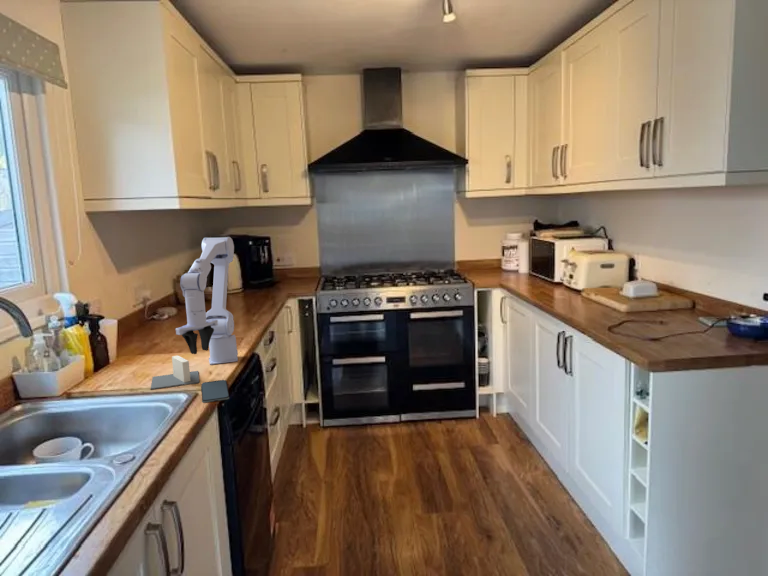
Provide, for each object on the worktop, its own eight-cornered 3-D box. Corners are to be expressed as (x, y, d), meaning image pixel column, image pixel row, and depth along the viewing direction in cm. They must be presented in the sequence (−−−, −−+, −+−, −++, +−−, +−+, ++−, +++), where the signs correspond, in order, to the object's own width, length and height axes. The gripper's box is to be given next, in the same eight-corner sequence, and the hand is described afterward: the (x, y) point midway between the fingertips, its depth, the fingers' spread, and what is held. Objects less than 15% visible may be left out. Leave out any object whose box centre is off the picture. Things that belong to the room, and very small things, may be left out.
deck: (180, 374, 175) (178, 355, 174) (190, 380, 169) (188, 360, 167) (173, 375, 174) (171, 356, 173) (184, 382, 167) (182, 362, 166)
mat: (198, 371, 179) (198, 370, 179) (199, 382, 167) (199, 381, 167) (152, 377, 174) (152, 376, 174) (150, 389, 163) (150, 388, 163)
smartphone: (201, 400, 150) (200, 382, 164) (202, 406, 151) (201, 387, 164) (229, 396, 153) (226, 379, 167) (230, 402, 153) (226, 384, 167)
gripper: (206, 305, 178) (209, 344, 180) (168, 313, 166) (172, 355, 168) (220, 307, 174) (223, 347, 176) (182, 315, 162) (186, 358, 164)
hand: (199, 351), depth 172 cm, fingers open, 4 cm apart
